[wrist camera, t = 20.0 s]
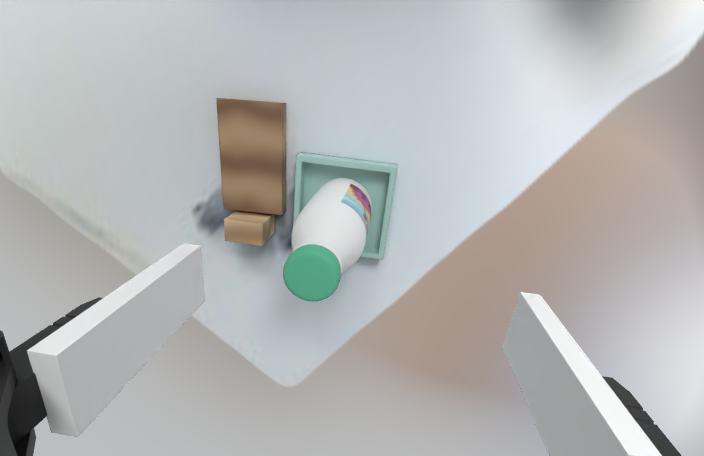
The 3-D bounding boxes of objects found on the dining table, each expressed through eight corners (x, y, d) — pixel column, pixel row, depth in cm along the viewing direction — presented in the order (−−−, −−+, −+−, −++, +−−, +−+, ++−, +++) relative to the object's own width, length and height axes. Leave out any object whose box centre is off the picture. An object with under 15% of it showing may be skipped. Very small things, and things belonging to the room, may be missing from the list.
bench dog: (240, 207, 48) (224, 219, 43) (275, 212, 48) (262, 224, 43) (240, 227, 49) (224, 240, 44) (274, 232, 49) (262, 246, 44)
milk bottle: (315, 230, 47) (265, 315, 29) (314, 175, 45) (259, 229, 26) (371, 234, 47) (357, 323, 28) (374, 178, 44) (360, 236, 25)
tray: (301, 152, 44) (296, 155, 42) (396, 164, 43) (397, 167, 41) (297, 239, 49) (292, 246, 46) (383, 252, 48) (383, 259, 46)
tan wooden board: (225, 98, 43) (216, 98, 41) (287, 103, 43) (281, 103, 41) (231, 203, 48) (223, 209, 46) (287, 209, 48) (281, 215, 46)
